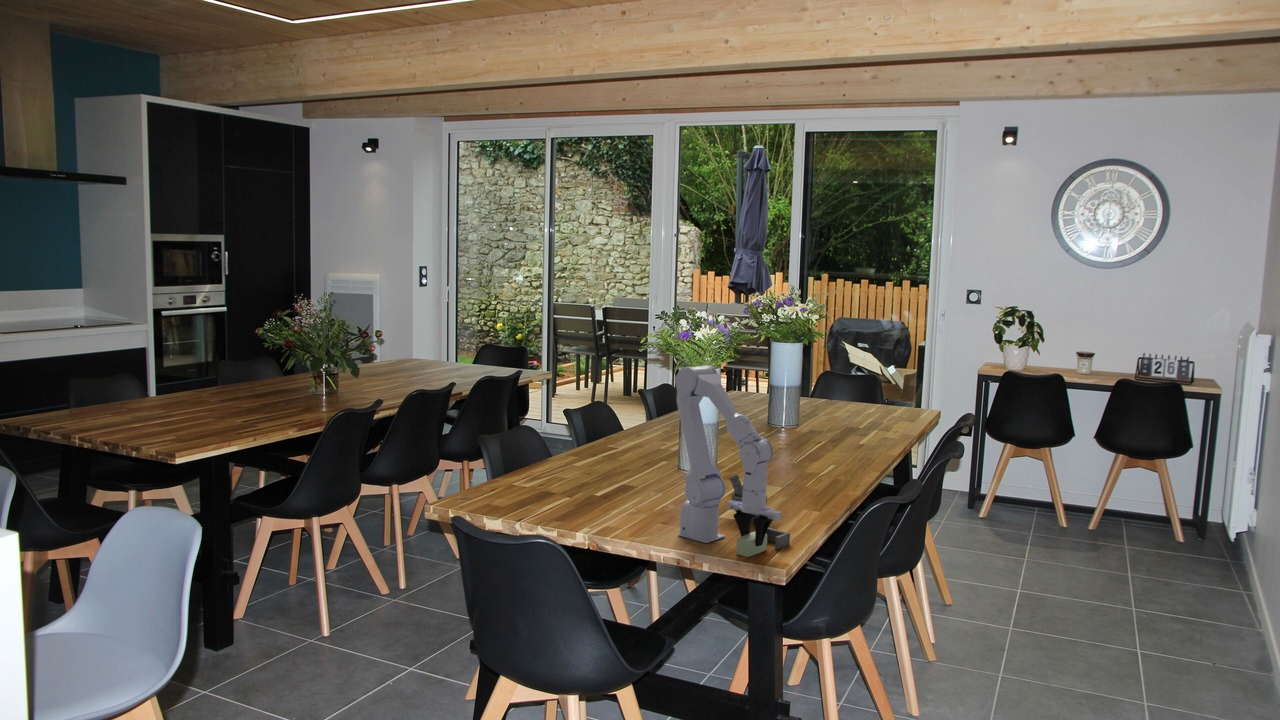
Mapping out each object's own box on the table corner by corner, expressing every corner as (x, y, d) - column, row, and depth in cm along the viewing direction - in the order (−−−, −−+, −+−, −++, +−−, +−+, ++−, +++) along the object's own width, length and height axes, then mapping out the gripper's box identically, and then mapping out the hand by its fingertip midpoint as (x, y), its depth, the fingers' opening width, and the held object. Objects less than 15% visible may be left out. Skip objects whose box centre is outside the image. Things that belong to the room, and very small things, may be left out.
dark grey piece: (755, 543, 237) (755, 531, 237) (767, 538, 241) (767, 527, 241) (777, 549, 233) (778, 537, 233) (789, 544, 237) (790, 533, 237)
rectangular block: (754, 546, 234) (755, 531, 234) (766, 550, 232) (767, 534, 232) (736, 553, 228) (736, 537, 228) (748, 557, 226) (748, 541, 225)
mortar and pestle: (771, 519, 260) (774, 476, 258) (757, 526, 252) (759, 483, 251) (735, 512, 266) (737, 470, 264) (720, 519, 258) (721, 476, 256)
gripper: (720, 486, 230) (718, 540, 232) (770, 497, 221) (768, 553, 222) (737, 481, 235) (734, 534, 237) (786, 492, 226) (784, 547, 227)
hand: (752, 543), depth 230 cm, fingers closed on rectangular block, 3 cm apart
